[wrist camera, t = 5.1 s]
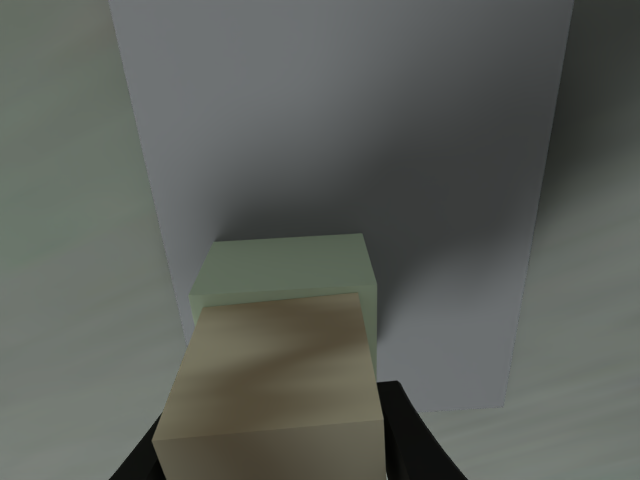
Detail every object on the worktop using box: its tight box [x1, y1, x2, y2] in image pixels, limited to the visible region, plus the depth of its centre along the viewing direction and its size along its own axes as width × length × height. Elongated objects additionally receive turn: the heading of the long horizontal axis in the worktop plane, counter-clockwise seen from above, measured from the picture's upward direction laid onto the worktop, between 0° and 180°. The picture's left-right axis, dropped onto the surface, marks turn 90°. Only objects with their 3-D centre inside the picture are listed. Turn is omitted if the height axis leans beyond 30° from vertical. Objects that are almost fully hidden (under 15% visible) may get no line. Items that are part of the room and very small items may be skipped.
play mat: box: [108, 0, 574, 412], centre depth 17 cm, size 15×24×1 cm, turn 3°
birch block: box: [152, 292, 386, 480], centre depth 12 cm, size 5×5×5 cm
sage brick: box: [188, 233, 377, 382], centre depth 17 cm, size 6×6×4 cm
